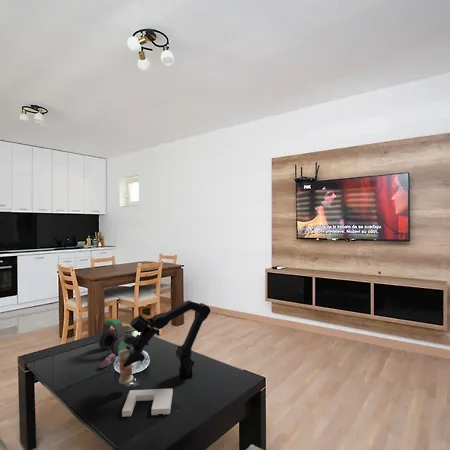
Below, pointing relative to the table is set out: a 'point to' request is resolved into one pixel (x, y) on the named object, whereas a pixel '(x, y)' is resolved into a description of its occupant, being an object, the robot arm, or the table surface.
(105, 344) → the headphones
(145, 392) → the notched board
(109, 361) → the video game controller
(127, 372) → the bobbin
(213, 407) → the table surface
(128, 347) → the robot arm
